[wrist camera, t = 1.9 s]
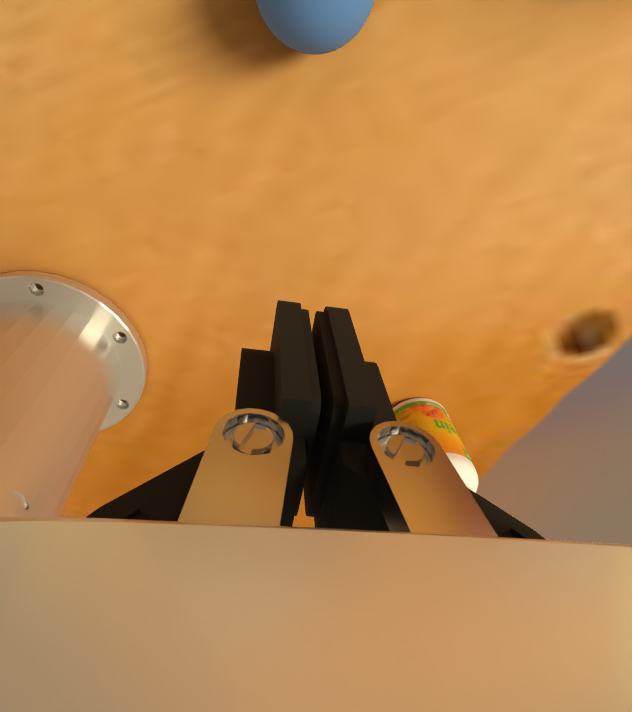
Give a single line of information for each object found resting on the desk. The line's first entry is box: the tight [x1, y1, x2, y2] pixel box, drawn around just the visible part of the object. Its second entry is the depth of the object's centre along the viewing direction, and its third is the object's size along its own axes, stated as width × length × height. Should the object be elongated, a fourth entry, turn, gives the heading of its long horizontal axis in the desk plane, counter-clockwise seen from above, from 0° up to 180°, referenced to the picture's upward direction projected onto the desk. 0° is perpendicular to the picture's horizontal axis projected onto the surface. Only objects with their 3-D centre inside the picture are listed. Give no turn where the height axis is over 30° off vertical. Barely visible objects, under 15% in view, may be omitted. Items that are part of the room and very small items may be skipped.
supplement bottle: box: [393, 398, 478, 493], centre depth 34 cm, size 5×5×10 cm
